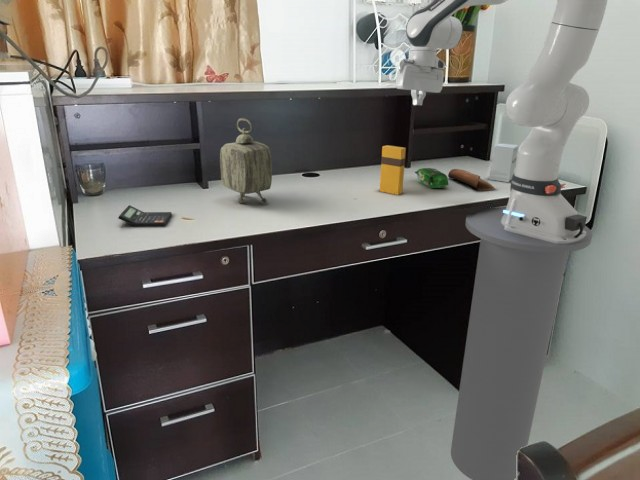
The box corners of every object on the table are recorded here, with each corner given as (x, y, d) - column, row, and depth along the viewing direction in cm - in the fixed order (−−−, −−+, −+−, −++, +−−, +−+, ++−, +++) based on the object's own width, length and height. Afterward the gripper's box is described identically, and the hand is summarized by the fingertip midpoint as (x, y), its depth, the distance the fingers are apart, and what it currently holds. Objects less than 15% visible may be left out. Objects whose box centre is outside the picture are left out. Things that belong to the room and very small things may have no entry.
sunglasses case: (497, 188, 173) (491, 172, 170) (481, 199, 172) (474, 183, 169) (466, 176, 189) (460, 161, 186) (451, 186, 188) (445, 171, 185)
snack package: (431, 179, 186) (432, 165, 184) (450, 189, 172) (451, 174, 170) (413, 179, 185) (414, 165, 183) (430, 190, 170) (431, 175, 168)
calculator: (164, 226, 132) (163, 215, 131) (119, 226, 131) (117, 215, 130) (171, 215, 141) (170, 204, 140) (128, 215, 140) (127, 204, 139)
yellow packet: (383, 189, 171) (386, 145, 166) (402, 193, 167) (406, 147, 162) (379, 191, 169) (382, 146, 163) (398, 195, 165) (401, 149, 159)
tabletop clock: (272, 203, 153) (271, 119, 144) (248, 209, 147) (245, 122, 138) (243, 194, 162) (240, 114, 153) (219, 199, 156) (215, 117, 147)
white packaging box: (508, 182, 183) (514, 147, 178) (488, 179, 187) (493, 145, 182) (513, 178, 189) (519, 144, 184) (493, 175, 192) (498, 142, 188)
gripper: (408, 57, 156) (403, 103, 159) (448, 64, 169) (443, 107, 172) (393, 58, 160) (389, 103, 164) (433, 64, 173) (428, 106, 177)
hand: (417, 105), depth 168 cm, fingers closed
